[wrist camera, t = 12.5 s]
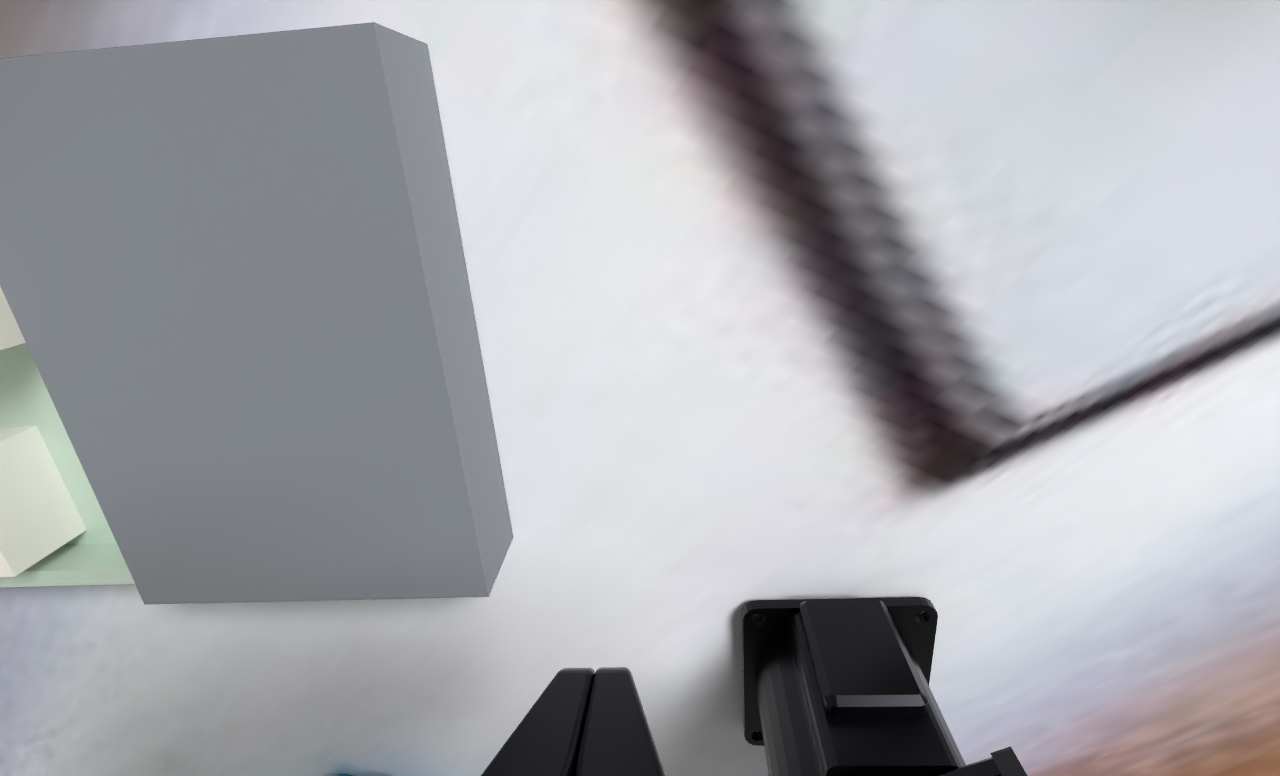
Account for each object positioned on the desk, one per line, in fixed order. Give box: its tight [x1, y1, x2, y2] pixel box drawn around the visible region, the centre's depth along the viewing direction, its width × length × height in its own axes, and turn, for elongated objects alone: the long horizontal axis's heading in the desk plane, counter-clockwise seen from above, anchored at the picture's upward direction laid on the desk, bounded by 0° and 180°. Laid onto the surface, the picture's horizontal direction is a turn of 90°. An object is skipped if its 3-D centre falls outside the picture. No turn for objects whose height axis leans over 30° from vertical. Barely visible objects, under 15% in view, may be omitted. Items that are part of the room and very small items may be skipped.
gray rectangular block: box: [0, 23, 513, 604], centre depth 17 cm, size 15×11×3 cm
